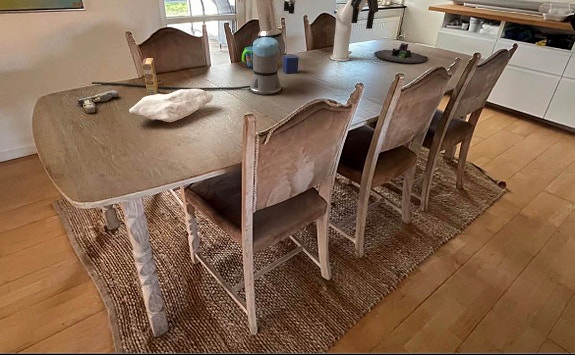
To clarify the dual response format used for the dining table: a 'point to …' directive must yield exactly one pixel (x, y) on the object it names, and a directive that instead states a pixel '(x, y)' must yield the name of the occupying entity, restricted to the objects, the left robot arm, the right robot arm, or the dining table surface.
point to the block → (290, 64)
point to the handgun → (95, 100)
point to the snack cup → (248, 56)
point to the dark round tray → (401, 55)
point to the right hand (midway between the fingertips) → (288, 12)
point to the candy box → (150, 76)
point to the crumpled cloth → (171, 104)
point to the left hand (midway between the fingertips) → (361, 25)
